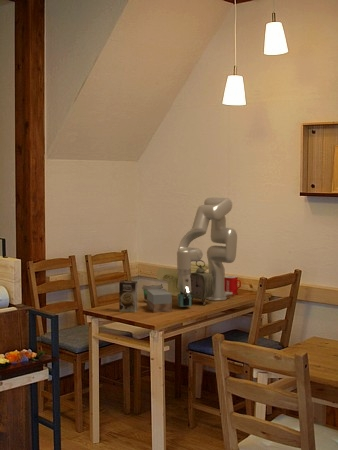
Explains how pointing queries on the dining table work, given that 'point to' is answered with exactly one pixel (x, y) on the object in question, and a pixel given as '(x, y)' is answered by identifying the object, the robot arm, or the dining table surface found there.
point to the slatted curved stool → (175, 277)
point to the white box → (159, 296)
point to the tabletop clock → (201, 284)
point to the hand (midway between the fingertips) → (184, 303)
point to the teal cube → (180, 300)
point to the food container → (150, 289)
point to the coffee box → (128, 296)
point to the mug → (232, 284)
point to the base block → (159, 307)
